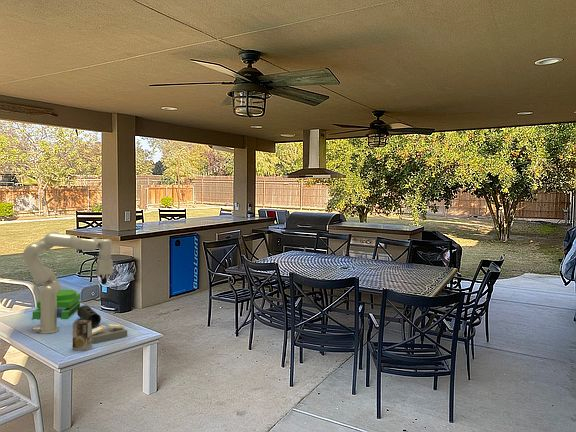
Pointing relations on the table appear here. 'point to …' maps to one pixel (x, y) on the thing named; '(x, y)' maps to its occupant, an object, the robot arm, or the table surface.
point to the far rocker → (115, 326)
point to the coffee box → (82, 335)
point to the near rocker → (98, 329)
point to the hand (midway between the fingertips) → (103, 284)
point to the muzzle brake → (89, 315)
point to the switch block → (109, 335)
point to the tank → (63, 304)
